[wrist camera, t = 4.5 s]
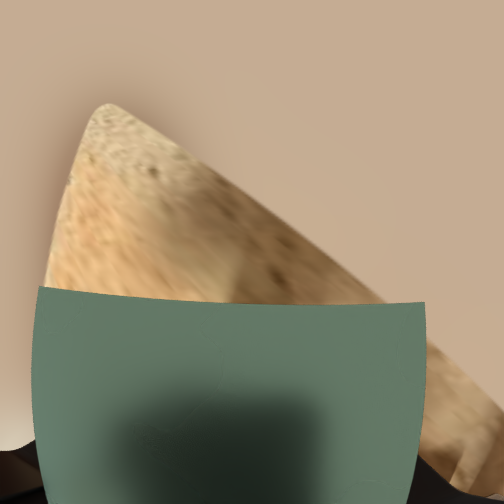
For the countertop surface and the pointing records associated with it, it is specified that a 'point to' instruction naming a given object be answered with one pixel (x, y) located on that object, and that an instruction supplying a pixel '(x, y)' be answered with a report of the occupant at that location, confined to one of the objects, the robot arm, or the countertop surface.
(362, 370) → the tea tin
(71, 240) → the countertop surface
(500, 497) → the coffee box
